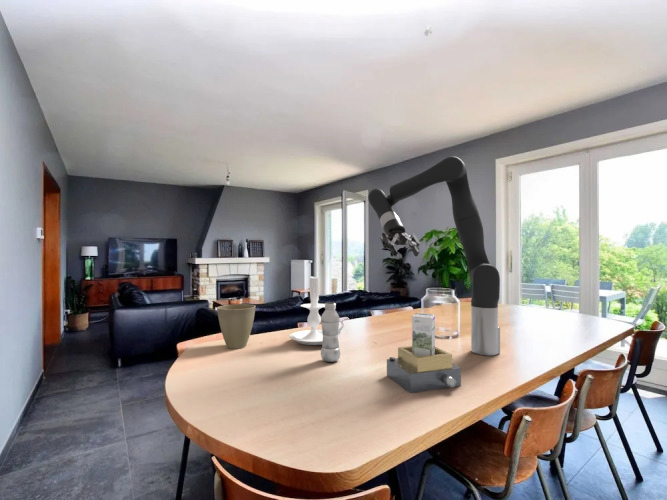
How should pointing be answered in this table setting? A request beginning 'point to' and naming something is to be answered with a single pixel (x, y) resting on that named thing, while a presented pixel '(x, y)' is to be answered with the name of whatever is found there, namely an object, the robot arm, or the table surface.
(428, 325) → the syrup box
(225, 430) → the table surface
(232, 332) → the plant pot
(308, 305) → the candlestick
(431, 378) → the grey square holder
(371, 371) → the table surface
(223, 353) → the table surface
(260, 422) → the table surface
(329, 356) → the plastic bottle
